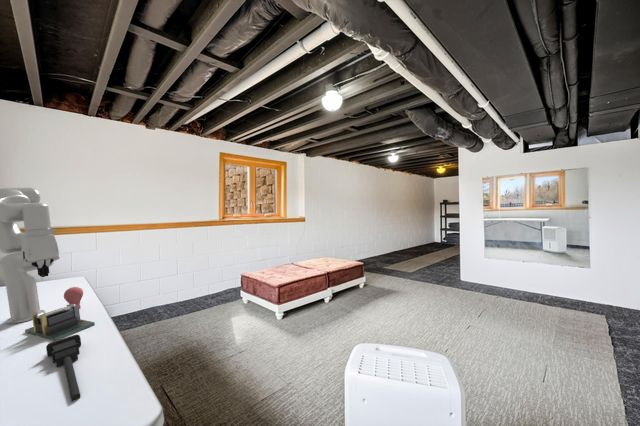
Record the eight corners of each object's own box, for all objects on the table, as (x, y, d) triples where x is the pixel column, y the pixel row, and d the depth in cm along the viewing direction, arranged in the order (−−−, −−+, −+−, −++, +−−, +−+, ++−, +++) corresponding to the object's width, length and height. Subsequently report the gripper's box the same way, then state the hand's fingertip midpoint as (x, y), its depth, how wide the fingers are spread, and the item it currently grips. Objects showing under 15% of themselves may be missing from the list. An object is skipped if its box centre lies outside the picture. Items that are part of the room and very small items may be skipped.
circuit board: (25, 332, 111) (22, 311, 111) (64, 318, 123) (61, 299, 122) (55, 340, 102) (51, 317, 101) (94, 324, 114) (91, 304, 113)
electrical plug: (79, 341, 100) (78, 329, 100) (98, 396, 72) (96, 379, 72) (47, 352, 94) (45, 339, 93) (54, 417, 66) (51, 398, 65)
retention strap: (36, 318, 107) (36, 315, 107) (73, 306, 118) (72, 303, 118) (40, 319, 106) (40, 315, 106) (76, 307, 117) (76, 304, 117)
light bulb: (73, 314, 128) (70, 289, 127) (62, 313, 129) (58, 289, 128) (89, 307, 135) (86, 284, 134) (78, 307, 136) (75, 284, 135)
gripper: (57, 230, 118) (62, 270, 120) (8, 235, 105) (14, 281, 106) (66, 230, 115) (71, 271, 117) (16, 236, 101) (22, 283, 103)
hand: (44, 276), depth 111 cm, fingers closed
